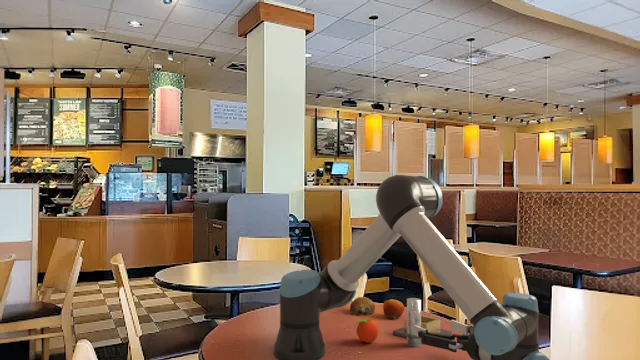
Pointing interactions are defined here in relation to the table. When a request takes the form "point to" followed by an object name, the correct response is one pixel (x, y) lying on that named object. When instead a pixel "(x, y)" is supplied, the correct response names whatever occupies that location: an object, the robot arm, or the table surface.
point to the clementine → (367, 330)
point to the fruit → (393, 308)
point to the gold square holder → (427, 324)
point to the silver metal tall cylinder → (413, 321)
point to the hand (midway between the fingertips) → (433, 326)
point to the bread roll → (362, 306)
